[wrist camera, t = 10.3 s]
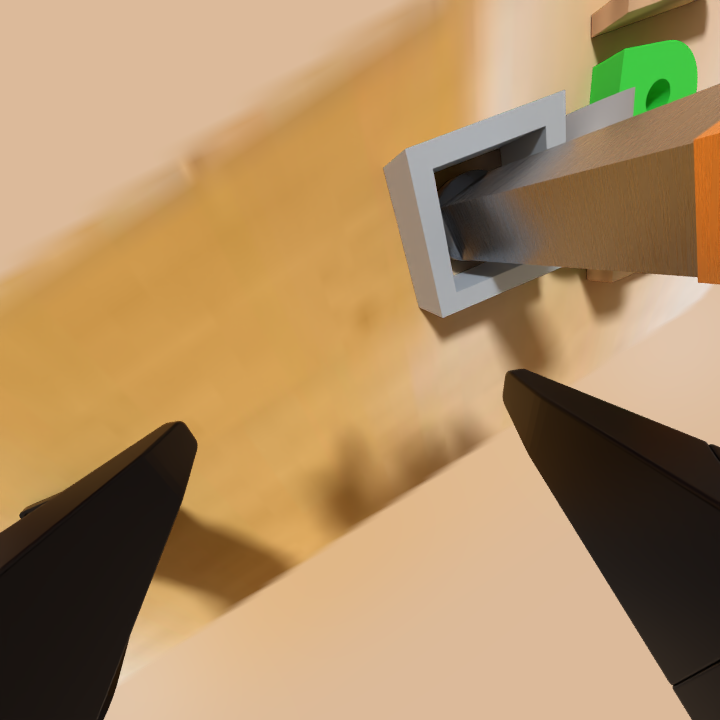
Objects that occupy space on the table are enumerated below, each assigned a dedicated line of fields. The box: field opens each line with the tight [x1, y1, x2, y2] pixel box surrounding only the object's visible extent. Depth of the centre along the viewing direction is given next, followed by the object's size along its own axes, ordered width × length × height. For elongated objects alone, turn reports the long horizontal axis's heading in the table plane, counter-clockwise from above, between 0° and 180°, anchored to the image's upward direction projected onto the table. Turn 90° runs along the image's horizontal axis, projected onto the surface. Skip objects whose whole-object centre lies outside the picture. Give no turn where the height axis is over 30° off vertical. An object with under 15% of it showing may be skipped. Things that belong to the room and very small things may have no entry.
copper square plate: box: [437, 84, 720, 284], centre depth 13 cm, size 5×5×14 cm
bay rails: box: [587, 0, 696, 283], centre depth 19 cm, size 8×16×2 cm, turn 20°
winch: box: [383, 87, 635, 318], centre depth 17 cm, size 14×9×4 cm, turn 110°
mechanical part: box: [590, 40, 697, 116], centre depth 17 cm, size 12×6×8 cm, turn 13°
